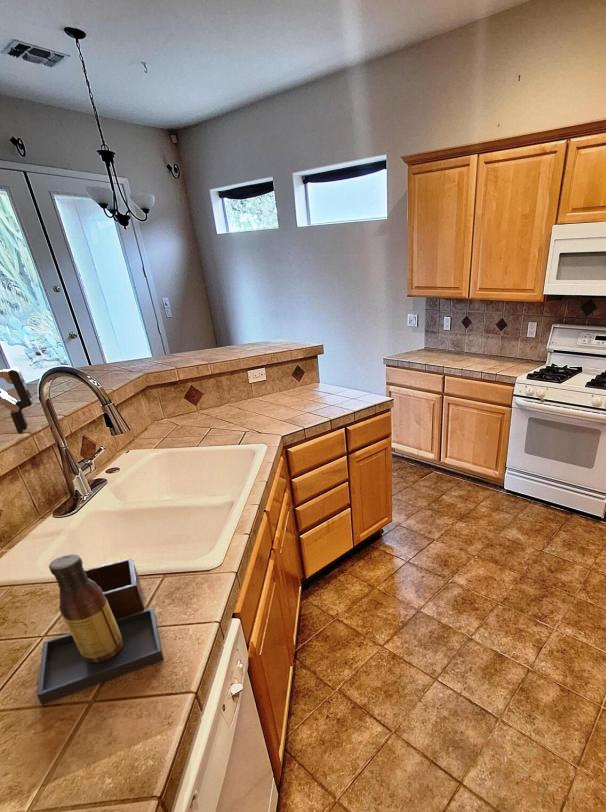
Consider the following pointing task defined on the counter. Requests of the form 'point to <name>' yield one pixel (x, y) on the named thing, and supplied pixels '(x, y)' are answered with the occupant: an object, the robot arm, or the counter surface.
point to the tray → (75, 673)
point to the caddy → (119, 586)
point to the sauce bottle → (86, 610)
